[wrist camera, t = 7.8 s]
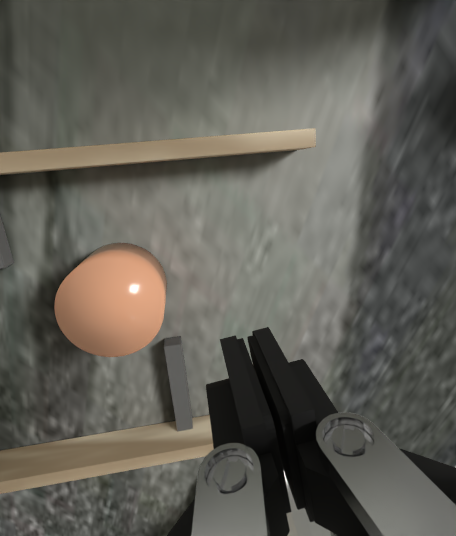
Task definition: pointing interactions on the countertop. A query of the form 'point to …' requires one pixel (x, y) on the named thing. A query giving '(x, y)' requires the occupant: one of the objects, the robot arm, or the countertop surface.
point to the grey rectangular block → (4, 248)
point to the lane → (146, 437)
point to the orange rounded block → (113, 300)
